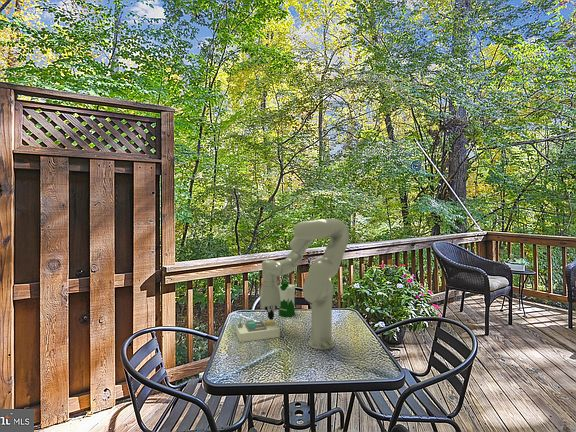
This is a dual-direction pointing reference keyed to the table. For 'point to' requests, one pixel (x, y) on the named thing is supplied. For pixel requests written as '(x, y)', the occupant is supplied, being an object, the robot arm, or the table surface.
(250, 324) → the slider teal
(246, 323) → the slider grey
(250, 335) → the panel
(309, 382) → the table surface
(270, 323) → the button
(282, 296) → the milk carton
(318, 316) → the robot arm
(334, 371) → the table surface
